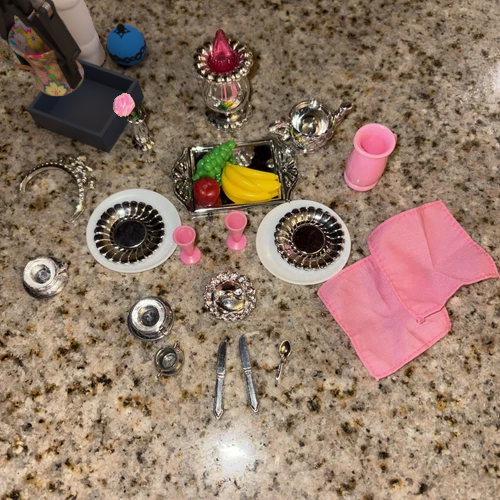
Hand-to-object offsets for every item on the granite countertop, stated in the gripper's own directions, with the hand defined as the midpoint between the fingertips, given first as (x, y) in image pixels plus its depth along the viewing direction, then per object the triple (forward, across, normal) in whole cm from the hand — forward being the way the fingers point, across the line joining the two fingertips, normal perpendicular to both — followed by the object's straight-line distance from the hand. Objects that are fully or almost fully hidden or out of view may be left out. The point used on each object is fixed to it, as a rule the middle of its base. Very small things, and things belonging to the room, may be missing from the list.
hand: (53, 74), depth 86 cm
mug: (+2, +1, 0) cm, 2 cm away
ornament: (+20, +3, -22) cm, 30 cm away
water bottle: (+20, +11, -19) cm, 29 cm away
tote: (+20, +3, -6) cm, 21 cm away
